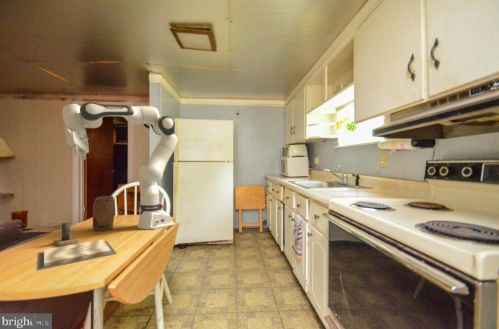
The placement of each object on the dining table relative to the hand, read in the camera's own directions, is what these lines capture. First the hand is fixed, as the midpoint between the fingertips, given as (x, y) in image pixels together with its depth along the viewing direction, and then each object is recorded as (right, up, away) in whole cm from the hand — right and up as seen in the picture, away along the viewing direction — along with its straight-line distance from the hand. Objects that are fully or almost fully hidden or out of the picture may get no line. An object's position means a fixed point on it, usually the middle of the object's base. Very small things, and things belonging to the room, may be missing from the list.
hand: (80, 157), depth 128 cm
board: (+16, -42, -24) cm, 51 cm away
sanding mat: (+16, -43, -24) cm, 52 cm away
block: (+2, -43, +17) cm, 47 cm away
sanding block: (+1, -43, -11) cm, 45 cm away
